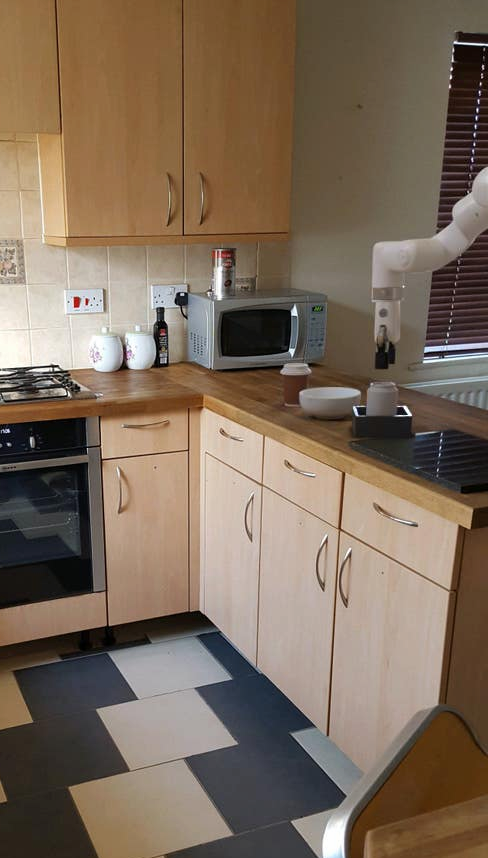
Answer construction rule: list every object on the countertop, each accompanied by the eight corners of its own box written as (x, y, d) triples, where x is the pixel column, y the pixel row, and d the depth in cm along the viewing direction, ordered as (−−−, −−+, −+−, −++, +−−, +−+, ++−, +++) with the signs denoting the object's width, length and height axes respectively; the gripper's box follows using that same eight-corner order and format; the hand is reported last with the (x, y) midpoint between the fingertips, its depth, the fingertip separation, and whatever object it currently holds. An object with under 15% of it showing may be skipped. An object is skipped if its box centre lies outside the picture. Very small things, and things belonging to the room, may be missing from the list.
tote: (404, 427, 228) (405, 405, 227) (410, 438, 216) (412, 415, 214) (351, 427, 230) (352, 406, 228) (354, 438, 218) (355, 416, 216)
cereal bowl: (287, 415, 249) (288, 390, 246) (338, 409, 254) (339, 385, 252) (319, 425, 234) (320, 399, 231) (372, 419, 239) (373, 393, 237)
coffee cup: (286, 401, 269) (287, 362, 265) (314, 403, 265) (316, 363, 261) (275, 406, 262) (275, 366, 258) (303, 408, 257) (304, 367, 253)
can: (359, 430, 223) (361, 383, 219) (376, 426, 228) (378, 379, 224) (384, 434, 218) (387, 386, 214) (401, 429, 222) (404, 382, 219)
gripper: (397, 296, 203) (394, 371, 208) (408, 292, 218) (405, 362, 223) (365, 297, 206) (363, 371, 211) (378, 293, 221) (376, 362, 226)
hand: (385, 366), depth 217 cm, fingers open, 9 cm apart
